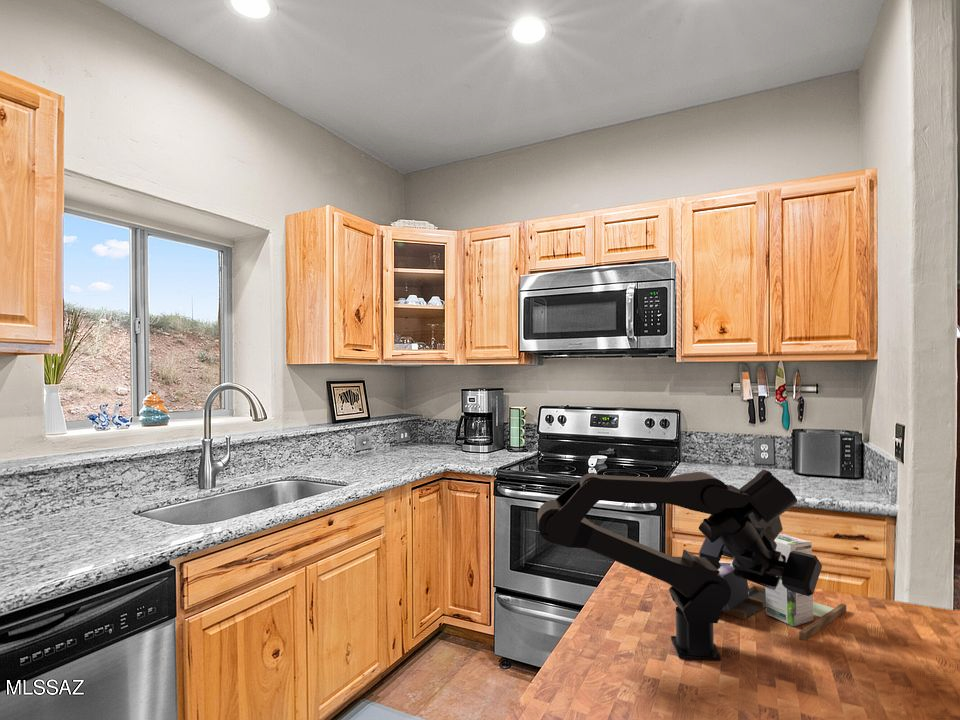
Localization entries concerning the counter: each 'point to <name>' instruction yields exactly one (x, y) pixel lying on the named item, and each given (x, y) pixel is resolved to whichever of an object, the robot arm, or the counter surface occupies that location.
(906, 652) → the counter surface
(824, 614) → the lane
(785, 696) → the counter surface
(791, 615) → the syrup box
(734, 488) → the robot arm
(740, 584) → the small box
